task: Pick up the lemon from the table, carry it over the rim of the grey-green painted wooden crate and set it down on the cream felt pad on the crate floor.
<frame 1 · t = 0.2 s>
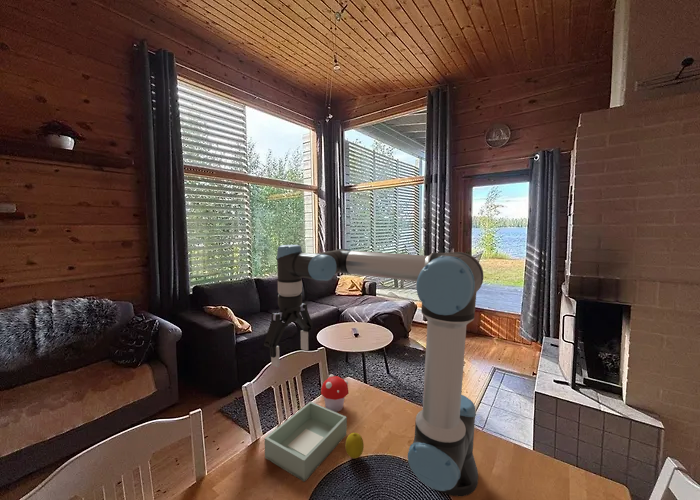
hand: (290, 357, 99), 27 cm above the table, fingers open, 13 cm apart
mushroom: (334, 407, 117), on the table
lemon: (354, 458, 93), on the table
crate: (307, 445, 97), on the table
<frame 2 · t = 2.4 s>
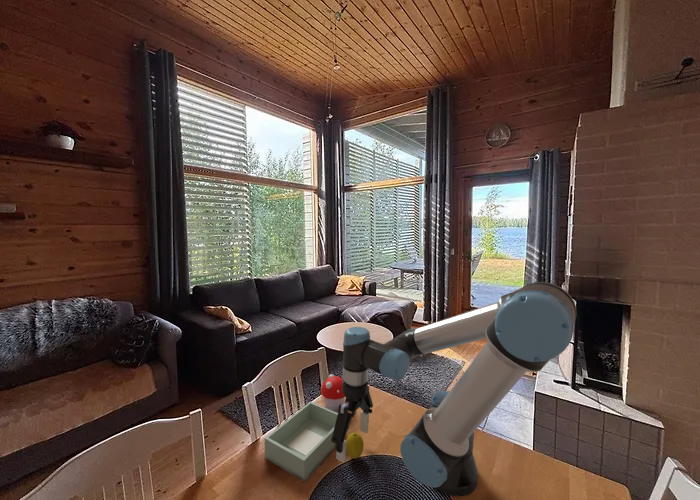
hand: (353, 444, 93), 4 cm above the table, fingers open, 13 cm apart
nothing on the table moved.
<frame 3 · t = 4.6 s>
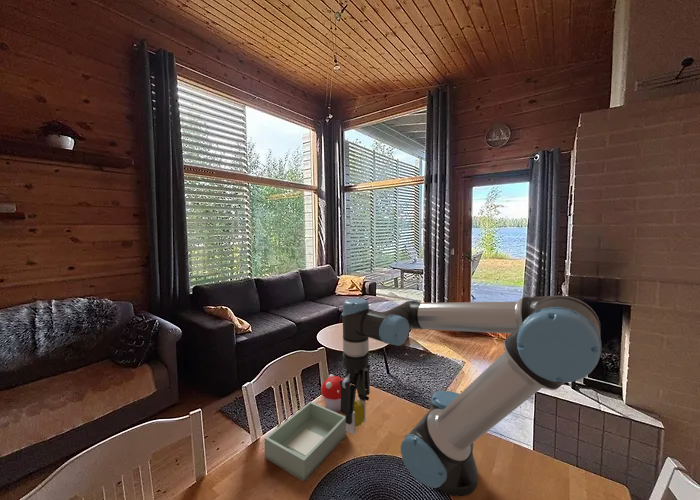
hand: (355, 425, 91), 11 cm above the table, fingers closed on lemon, 5 cm apart
lemon: (354, 427, 92), point 10 cm above the table, touching gripper
everything else where it was.
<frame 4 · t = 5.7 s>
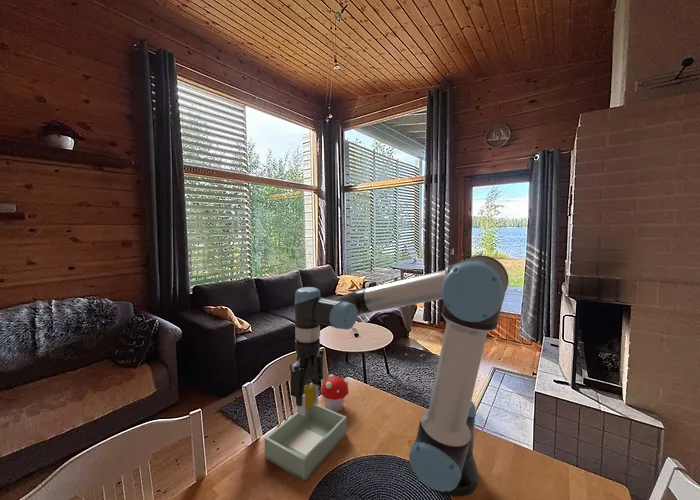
hand: (307, 408, 96), 13 cm above the table, fingers closed on lemon, 5 cm apart
lemon: (306, 409, 96), point 12 cm above the table, touching gripper
everything else where it was.
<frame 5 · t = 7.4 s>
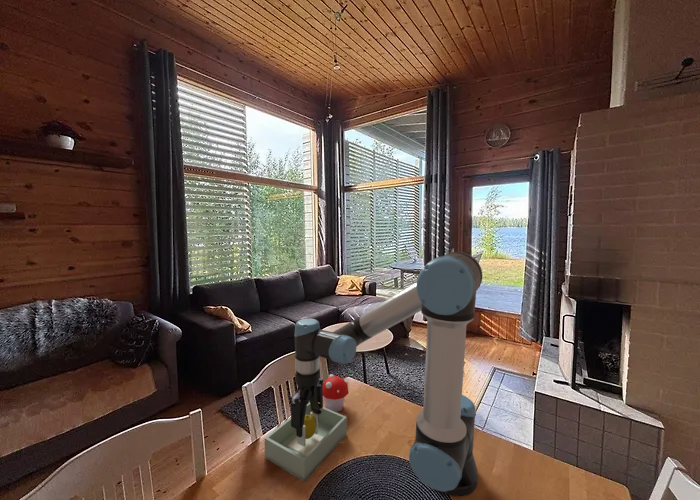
hand: (307, 437, 97), 3 cm above the table, fingers closed on lemon, 5 cm apart
lemon: (307, 439, 97), point 2 cm above the table, touching gripper
everything else where it was.
when the fingers open (3 cm above the table, at t = 7.4 s): lemon drops 1 cm, resting on crate.
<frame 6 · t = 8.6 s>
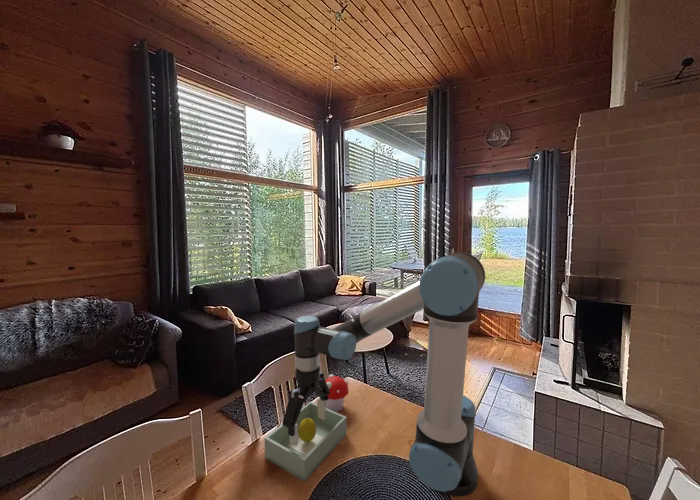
hand: (308, 430, 97), 6 cm above the table, fingers open, 13 cm apart
lemon: (307, 442, 98), point 1 cm above the table, touching crate
everything else where it was.
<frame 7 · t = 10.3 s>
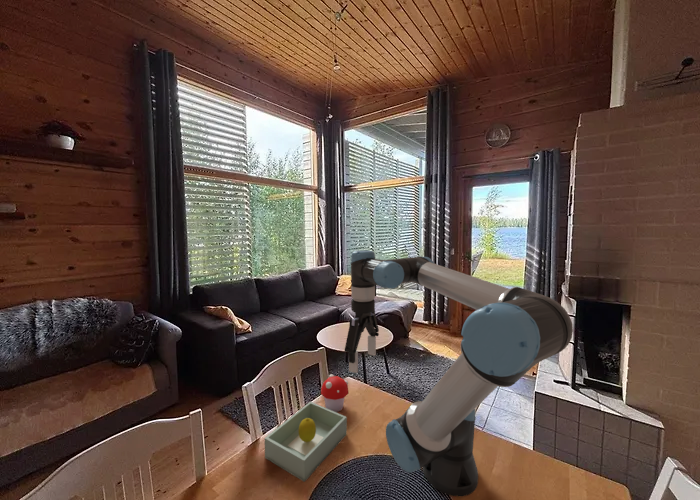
hand: (363, 362, 99), 26 cm above the table, fingers open, 13 cm apart
nothing on the table moved.
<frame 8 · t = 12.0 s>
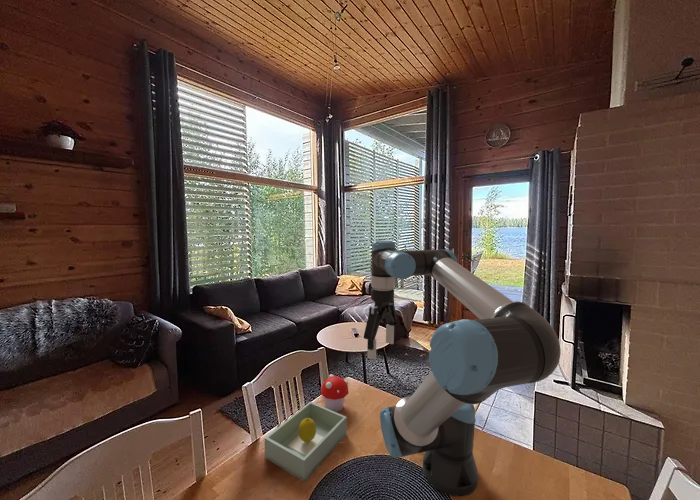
hand: (381, 350, 102), 29 cm above the table, fingers open, 13 cm apart
nothing on the table moved.
at the end: lemon inside the target area on the crate (0.4 cm from its centre), point 1.0 cm above the crate's base; lemon point 1.0 cm above the table; the gripper is holding nothing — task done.
